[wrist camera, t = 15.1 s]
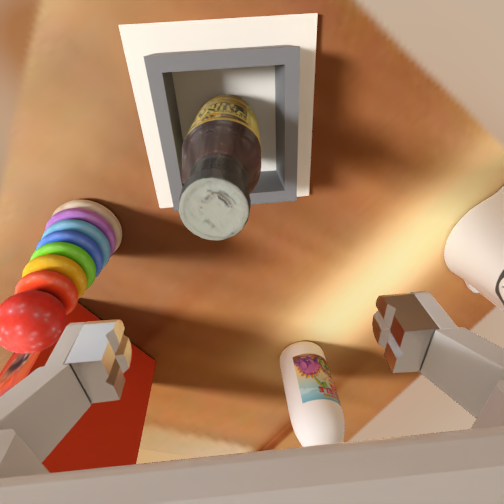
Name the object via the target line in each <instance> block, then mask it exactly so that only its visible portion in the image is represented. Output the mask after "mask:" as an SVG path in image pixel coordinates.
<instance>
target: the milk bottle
mask: <svg viewBox="0 0 504 504" xmlns="http://www.w3.org/2000/svg"><path fill="white" fill-rule="evenodd" d="M279 362H280V368H281V374H282V379H283V384H284V389H285V395H286V400H287V405H288V410H289V414H290V419H291V423H292V426H293V429H294V432H295V434H296V436H297V438H298V440H299V441H300V443H301V444H302V446H303V447H305V446H315V445H324V444H334V443H343V439H344V430H345V424H344V416H343V412H342V408H341V405H340V401H339V398H338V395H337V392H336V389H335V386H334V382H333V379H332V376H331V373H330V370H329V367H328V364H327V361H326V358H325V356H324V353H323V350H322V349H321V348H320V347H319V346H318V345H317V344H315V343H312V342H307V341H303V342H297V343H294V344H291V345H289V346H288V347H286V348H285V349H284V350H283V351H282V353H281V355H280V359H279Z"/></svg>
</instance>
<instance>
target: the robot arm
mask: <svg viewBox="0 0 504 504" xmlns="http://www.w3.org/2000/svg"><path fill="white" fill-rule="evenodd" d="M444 257H445V262H446V265H447V267H448V268H449V269H450V271H451V272H453V273H454V274H455V275H457V276H459V277H460V278H462V279H463V280H464V281H465V284H466V286H467V287H468V288H469V289H470V290H471V291H473V292H474V293H481V294H482V295H483V296H485V297H486V298H487V299H488V300H490V301H491V302H492V303H493V304H495V305H496V306H497V307H499V308H500V309H501V310H503V311H504V186H503V187H502V188H501V189H500V190H499V191H498V192H496V193H495V194H494V195H492V196H491V197H489V198H487V199H486V200H484V201H482V202H481V203H479V204H478V205H476V206H475V207H473V208H472V209H471V210H470V211H468V212H467V213H466V214H465V215H464V216H463V217H462V218H461V219H460V220H459V222H458V223H457V224H456V225H455V227H454V228H453V230H452V231H451V233H450V235H449V237H448V239H447V242H446V246H445V251H444ZM376 307H377V308H378V310H379V311H378V312H376V313H375V314H374V316H373V322H372V325H373V333H374V336H375V339H376V341H377V343H378V344H379V345H380V346H382V347H383V348H385V353H384V357H385V359H386V361H387V363H388V365H389V367H390V369H391V371H392V372H393V373H402V372H417V371H420V373H421V374H422V375H424V376H425V377H426V378H427V379H429V380H430V381H431V382H432V383H434V384H435V385H436V386H437V387H439V388H440V389H441V390H442V391H443V392H445V393H446V394H447V395H448V396H449V397H451V398H452V399H453V400H454V401H456V402H457V403H458V404H459V405H461V406H462V407H463V408H464V409H465V410H467V411H468V412H469V413H470V414H472V415H473V416H474V417H475V418H477V419H476V421H475V422H474V424H473V426H472V428H471V429H468V430H459V431H449V432H440V433H431V434H420V435H411V436H401V437H391V438H382V439H372V440H363V441H353V442H343V443H334V444H324V445H315V446H305V447H296V448H286V449H276V450H267V451H257V452H248V453H238V454H229V455H219V456H210V457H200V458H191V459H181V460H171V461H162V462H152V463H144V464H133V465H123V466H114V467H104V468H94V469H85V470H75V471H65V472H56V473H50V472H49V471H48V470H47V468H46V467H45V466H44V465H43V464H42V462H43V461H44V460H45V458H46V457H47V456H48V455H49V454H50V453H51V451H52V450H53V449H54V448H55V447H56V446H57V445H58V443H59V442H60V441H61V440H62V439H63V438H64V436H65V435H66V434H67V433H68V432H69V431H70V429H71V428H72V427H73V426H74V425H75V424H76V422H77V421H78V420H79V419H80V418H81V417H82V415H83V414H84V413H85V412H86V411H87V410H88V408H89V407H90V406H91V403H99V402H107V401H115V400H120V398H121V394H122V391H123V387H124V384H125V378H124V375H123V373H124V372H125V371H126V370H127V369H128V368H129V366H130V362H131V354H132V349H131V343H130V340H129V338H128V337H127V336H125V335H124V334H123V332H124V329H125V327H124V325H123V322H122V320H119V319H117V320H102V321H87V322H78V323H70V324H69V325H67V326H66V328H65V329H64V331H63V333H62V335H61V337H60V339H59V341H58V342H57V344H56V346H55V348H54V350H53V352H52V353H51V355H50V357H49V359H48V361H47V363H46V364H45V366H44V367H39V368H37V369H36V370H35V371H33V372H32V373H31V374H30V375H28V376H27V377H26V378H24V379H23V380H22V381H20V382H19V383H18V384H17V385H15V386H14V387H13V388H11V389H10V390H9V391H7V392H6V393H5V394H4V395H2V396H1V397H0V504H504V348H502V347H500V346H498V345H496V344H494V343H492V342H490V341H488V340H487V339H485V338H483V337H481V336H479V335H477V334H475V333H473V332H471V331H469V330H467V329H465V328H464V327H459V328H458V327H457V326H456V324H455V323H454V322H453V321H452V319H451V318H450V317H449V316H448V315H447V313H446V312H445V311H444V310H443V308H442V307H441V306H440V305H439V303H438V302H437V301H436V300H435V299H434V297H433V296H432V295H431V294H430V293H429V292H427V291H420V292H411V293H402V294H392V295H382V296H379V297H378V298H377V301H376Z"/></svg>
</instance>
